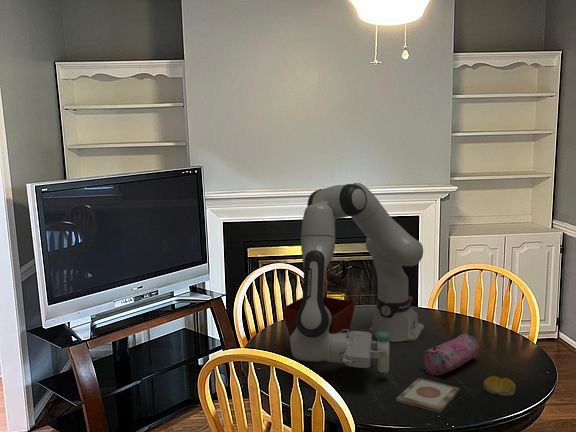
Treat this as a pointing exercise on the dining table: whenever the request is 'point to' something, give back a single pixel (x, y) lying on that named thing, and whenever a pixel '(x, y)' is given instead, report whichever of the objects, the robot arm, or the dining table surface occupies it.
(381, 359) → the marker
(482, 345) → the dining table surface
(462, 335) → the pencil case
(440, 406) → the picture frame
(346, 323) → the plant pot
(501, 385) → the bread roll
